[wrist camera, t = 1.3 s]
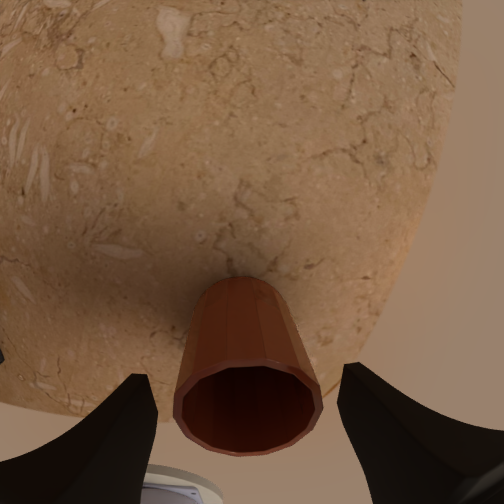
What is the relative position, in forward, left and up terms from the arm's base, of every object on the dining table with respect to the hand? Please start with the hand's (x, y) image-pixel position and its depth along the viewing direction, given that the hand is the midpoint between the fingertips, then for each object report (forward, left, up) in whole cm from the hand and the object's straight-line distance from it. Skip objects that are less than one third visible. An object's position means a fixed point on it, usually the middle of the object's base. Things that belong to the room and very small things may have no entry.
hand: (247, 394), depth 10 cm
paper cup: (0, 0, -6) cm, 6 cm away
